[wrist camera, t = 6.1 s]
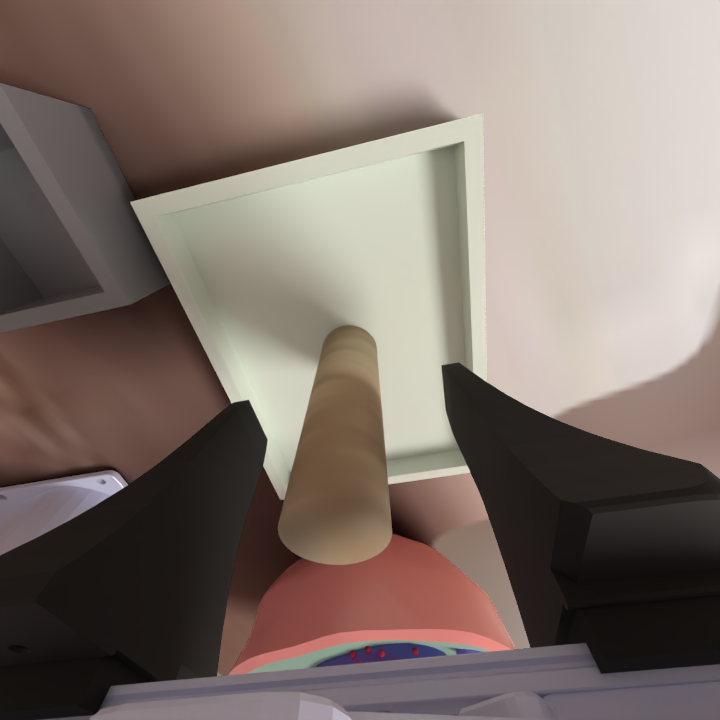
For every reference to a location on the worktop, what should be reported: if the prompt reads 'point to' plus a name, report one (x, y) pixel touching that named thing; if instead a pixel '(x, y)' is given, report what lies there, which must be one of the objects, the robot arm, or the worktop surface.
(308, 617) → the cell model
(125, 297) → the grey square box
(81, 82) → the worktop surface
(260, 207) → the tray
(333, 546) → the dowel
